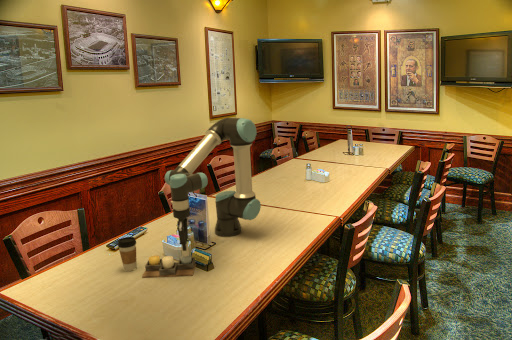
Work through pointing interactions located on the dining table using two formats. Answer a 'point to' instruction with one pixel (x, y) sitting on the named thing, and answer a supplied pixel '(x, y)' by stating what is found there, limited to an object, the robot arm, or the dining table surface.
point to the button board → (169, 270)
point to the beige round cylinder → (168, 262)
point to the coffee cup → (128, 253)
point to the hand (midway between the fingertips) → (185, 255)
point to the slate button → (186, 260)
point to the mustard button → (154, 260)
